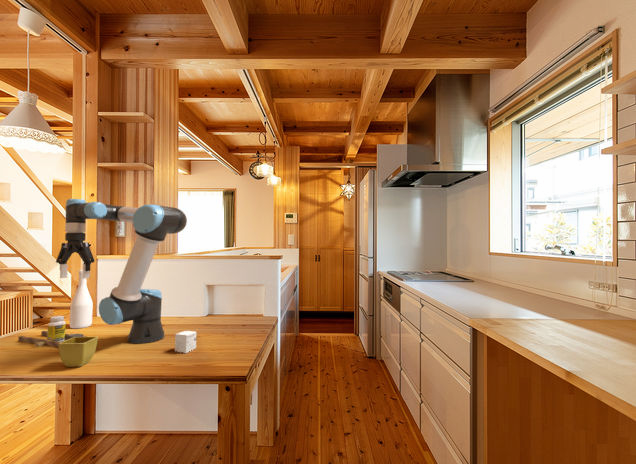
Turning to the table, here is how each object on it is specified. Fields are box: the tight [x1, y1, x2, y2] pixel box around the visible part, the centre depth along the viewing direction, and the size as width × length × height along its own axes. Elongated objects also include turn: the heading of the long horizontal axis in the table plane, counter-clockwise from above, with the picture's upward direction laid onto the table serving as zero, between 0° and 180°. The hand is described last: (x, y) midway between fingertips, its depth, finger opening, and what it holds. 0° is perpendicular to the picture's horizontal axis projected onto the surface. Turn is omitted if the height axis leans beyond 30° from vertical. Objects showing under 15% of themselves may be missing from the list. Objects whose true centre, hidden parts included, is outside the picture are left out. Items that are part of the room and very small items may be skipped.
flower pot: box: [58, 336, 99, 368], centre depth 118 cm, size 9×9×9 cm
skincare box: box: [174, 330, 197, 354], centre depth 135 cm, size 6×6×7 cm
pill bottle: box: [46, 315, 66, 342], centre depth 144 cm, size 6×6×11 cm
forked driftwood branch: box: [17, 330, 88, 348], centre depth 144 cm, size 32×15×4 cm, turn 73°
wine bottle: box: [69, 269, 94, 329], centre depth 170 cm, size 10×10×30 cm
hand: (74, 278), depth 148 cm, fingers open, 13 cm apart
